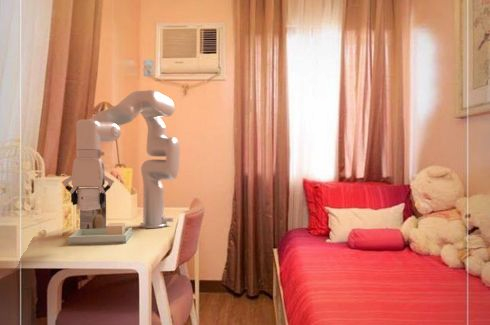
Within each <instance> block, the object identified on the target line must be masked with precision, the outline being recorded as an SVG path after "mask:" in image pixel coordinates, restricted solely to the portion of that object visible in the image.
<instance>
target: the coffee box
mask: <svg viewBox="0 0 490 325" xmlns="http://www.w3.org/2000/svg"><path fill="white" fill-rule="evenodd" d="M106 226H107V194H105V202H104V204H102V205H100V209H95V210H86V211H82V210H80V209H79V230H80V229H101V228H106Z"/></svg>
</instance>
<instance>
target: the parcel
mask: <svg viewBox="0 0 490 325" xmlns="http://www.w3.org/2000/svg"><path fill="white" fill-rule="evenodd" d="M125 228H126V223H125V222H115V223H114V222H111V223H110V222H109V223H107V224H106V235H124V234H125Z"/></svg>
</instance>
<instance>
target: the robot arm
mask: <svg viewBox="0 0 490 325" xmlns="http://www.w3.org/2000/svg"><path fill="white" fill-rule="evenodd" d="M175 110H176V109H175V104H174V102H173V100H172V99H171V98H169V97H168V96H167V95H164V94H162V93H161V92H159V91H157V90H154V89H153V90H152V89H150V90H149V89H148V90H135V91H132V92H131V93H129V94H128V95H127V96H125V97H124V98H123V100H121V101H120V102H118V103H117V104H116V105H114V106H111V107H108V108H107V109H104V110H102V111H100V112H98V113H96V114H95V115H93V116H91V117H90V118H88V119H79V120H78V121H76V127H75V128H76V158H74V159H73V165H72V172H71V175H70V176H69V177H66V179H64V180H62V181H61V183H62V185H63V186H64V187H65V189H66V191H68V192H69V193H70V198H71V199H70V201H71V203H72V206H77V188H99V190H100V205H102V204H104V202H105V195H106V193H107V191H109V190H110V189H111V187H112V186H113V185H114V183H115V181H114V180H113V179H111V178H110V177H108V176H106V173H105V164H104V160H103V158H101V157H103V156H105V152H104V151H101V142H102V143H109V142H110V143H111V142H115V141H117V140H118V139H119V138H120V136H121V133H122V132H121V127H120V126H122V125H126V124H129V123H131V122H132V121H134V120H135V119H136V118H137V117H138V116H139V114H141V116H142V117H143V119H144V121H145V123H146V125H147V134H146V136H147V137H146V153H147V155H148V156H150V157H156V159H147V160H145V161H144V162H143V163H142V164H141V168H140V171H141V176H142V183H143V185H142V186H143V188H142V189H143V190H142V191H143V193H142V194H143V198H142V200H143V202H142V203H143V204H142V205H143V206H142V211H143V212H142V215H143V216H142V217H143V218H142V222H140V223H139V228H142V229H157V228H164V227H167V225H168V223H173V222H174V217H166V216H165V188H164V184H163V182H162V181H161V180H163V181H171V180H172V181H173V180H176V178H177V177H178V175H179V171H180V170H179V168H180V154H181V146H180V141H179V140H178V138H176V137H175V136H167V126H166V124H165V122H164V121H163V119H162V118H167V117H168V118H169V117H172V116H173V114H174V113H175ZM158 157H159V158H161V157H162V158H165V159H159V158H158ZM157 158H158V159H157ZM70 182H71V185H72V186H71V185H70V184H69V183H70ZM106 182H107V185H106V186H104V185H105V184H106Z"/></svg>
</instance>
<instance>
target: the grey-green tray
mask: <svg viewBox="0 0 490 325" xmlns="http://www.w3.org/2000/svg"><path fill="white" fill-rule="evenodd" d="M132 235H133V227H125V234H124V235H106V228H101V229H80V228H79V229H78V230H77V231H75V232H74V233H72V234H71V235H69V236H68V237H67V245H68V246H81V245H82V246H84V245H85V246H86V245H88V246H89V245H109V244H114V245H115V244H116V245H117V244H126V243H128V241H129V240H130V238H131V237H132Z"/></svg>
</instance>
